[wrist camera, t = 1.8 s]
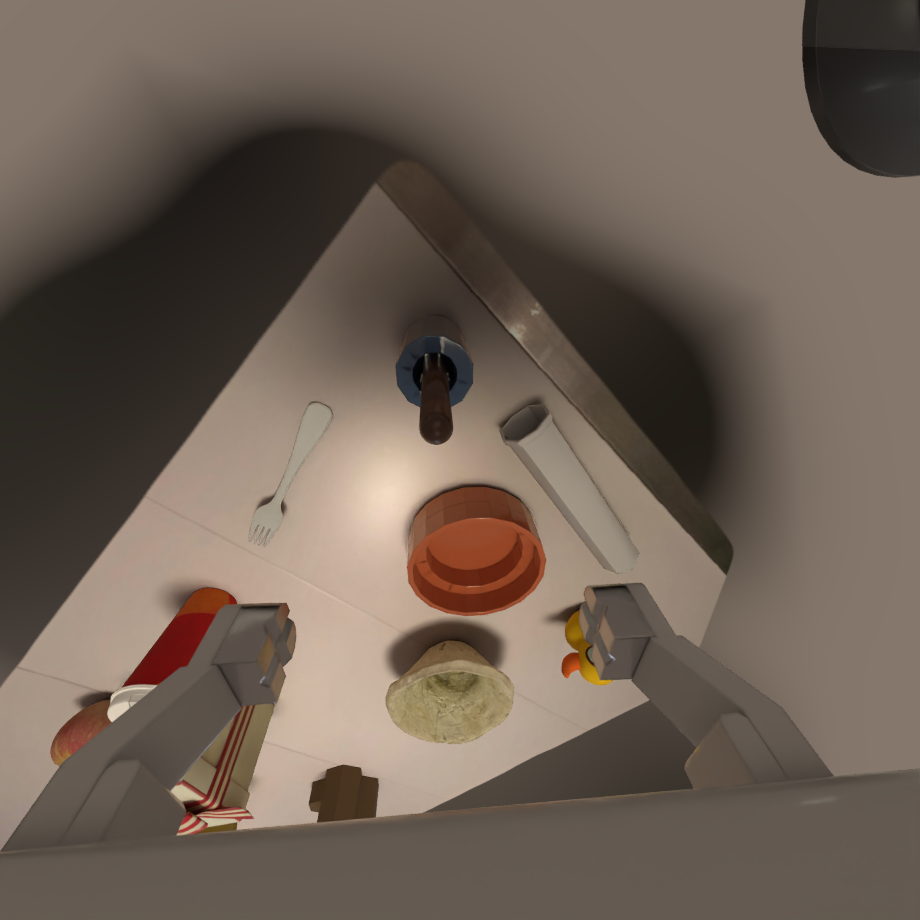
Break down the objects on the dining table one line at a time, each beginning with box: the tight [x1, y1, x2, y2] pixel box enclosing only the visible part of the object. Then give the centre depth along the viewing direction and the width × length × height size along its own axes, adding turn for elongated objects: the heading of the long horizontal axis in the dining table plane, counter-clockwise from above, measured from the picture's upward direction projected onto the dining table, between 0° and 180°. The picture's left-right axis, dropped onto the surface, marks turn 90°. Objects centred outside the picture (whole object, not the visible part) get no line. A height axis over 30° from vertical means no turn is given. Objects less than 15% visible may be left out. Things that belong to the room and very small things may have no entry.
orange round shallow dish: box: [407, 487, 546, 616], centre depth 44 cm, size 15×15×6 cm
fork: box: [249, 402, 332, 547], centre depth 40 cm, size 3×21×3 cm, turn 148°
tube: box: [500, 405, 639, 574], centre depth 42 cm, size 5×5×25 cm
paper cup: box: [107, 588, 237, 722], centre depth 43 cm, size 8×8×14 cm
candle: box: [309, 765, 379, 823], centre depth 74 cm, size 14×14×15 cm
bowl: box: [386, 640, 514, 744], centre depth 53 cm, size 14×18×15 cm
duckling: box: [562, 610, 613, 685], centre depth 52 cm, size 11×5×10 cm, turn 94°
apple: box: [51, 699, 112, 766], centre depth 57 cm, size 9×9×8 cm
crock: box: [396, 315, 473, 407], centre depth 31 cm, size 6×6×8 cm
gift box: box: [171, 703, 274, 835], centre depth 53 cm, size 17×18×17 cm
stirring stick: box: [419, 353, 453, 445], centre depth 26 cm, size 2×2×17 cm
